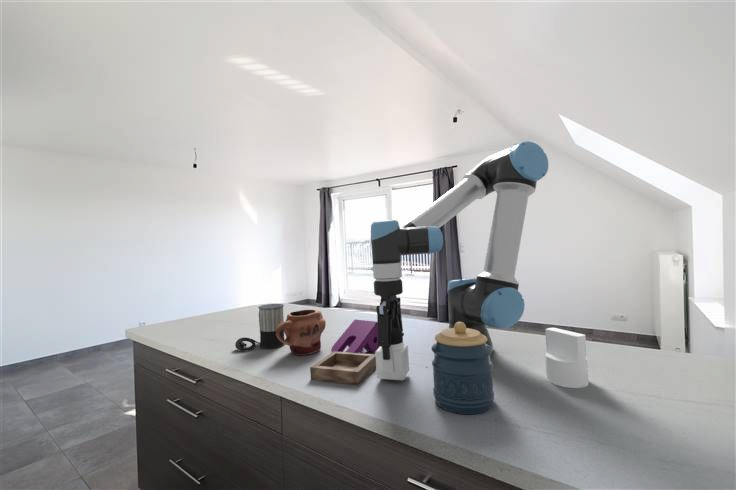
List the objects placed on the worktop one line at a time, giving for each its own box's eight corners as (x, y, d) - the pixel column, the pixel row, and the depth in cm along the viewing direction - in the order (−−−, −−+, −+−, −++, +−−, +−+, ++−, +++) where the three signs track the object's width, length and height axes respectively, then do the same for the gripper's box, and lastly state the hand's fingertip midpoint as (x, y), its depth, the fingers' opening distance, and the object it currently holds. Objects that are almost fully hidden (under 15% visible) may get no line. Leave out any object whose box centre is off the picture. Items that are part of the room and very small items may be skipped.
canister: (490, 390, 81) (487, 315, 81) (498, 418, 68) (494, 329, 68) (434, 387, 84) (431, 315, 84) (432, 413, 71) (428, 328, 71)
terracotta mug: (292, 365, 104) (290, 319, 104) (266, 358, 111) (265, 316, 111) (335, 347, 121) (333, 308, 121) (310, 342, 128) (308, 305, 128)
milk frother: (290, 343, 128) (289, 304, 128) (256, 356, 115) (254, 312, 115) (265, 339, 136) (263, 302, 136) (230, 350, 123) (228, 309, 123)
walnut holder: (377, 366, 100) (376, 354, 100) (358, 385, 87) (358, 371, 87) (334, 362, 105) (333, 351, 105) (310, 379, 92) (310, 367, 92)
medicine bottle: (409, 370, 92) (406, 326, 92) (403, 380, 86) (400, 333, 86) (384, 368, 95) (381, 325, 95) (376, 378, 88) (373, 332, 88)
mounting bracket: (357, 380, 106) (383, 341, 119) (349, 359, 103) (377, 321, 116) (333, 374, 111) (361, 338, 124) (325, 354, 108) (354, 319, 121)
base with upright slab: (538, 377, 87) (536, 330, 87) (562, 371, 90) (560, 325, 90) (571, 391, 78) (569, 338, 78) (597, 383, 82) (594, 333, 82)
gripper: (385, 275, 101) (390, 352, 101) (360, 284, 82) (365, 379, 82) (410, 274, 98) (415, 354, 98) (389, 284, 79) (395, 382, 79)
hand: (392, 365), depth 90 cm, fingers closed on medicine bottle, 7 cm apart
